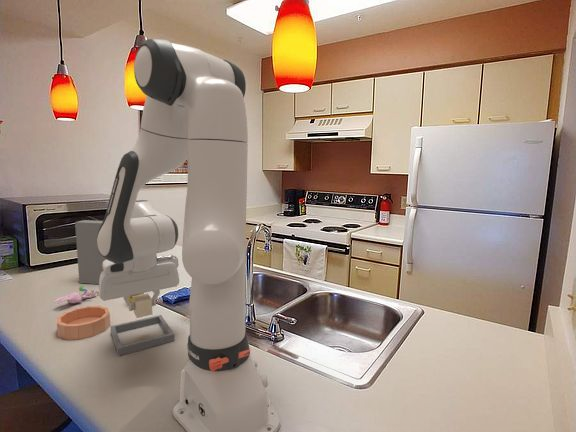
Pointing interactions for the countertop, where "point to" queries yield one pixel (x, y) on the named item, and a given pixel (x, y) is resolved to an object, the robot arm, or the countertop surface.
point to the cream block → (142, 305)
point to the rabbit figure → (77, 296)
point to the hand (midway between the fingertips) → (142, 307)
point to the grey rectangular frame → (144, 343)
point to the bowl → (83, 322)
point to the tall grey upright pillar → (88, 251)
